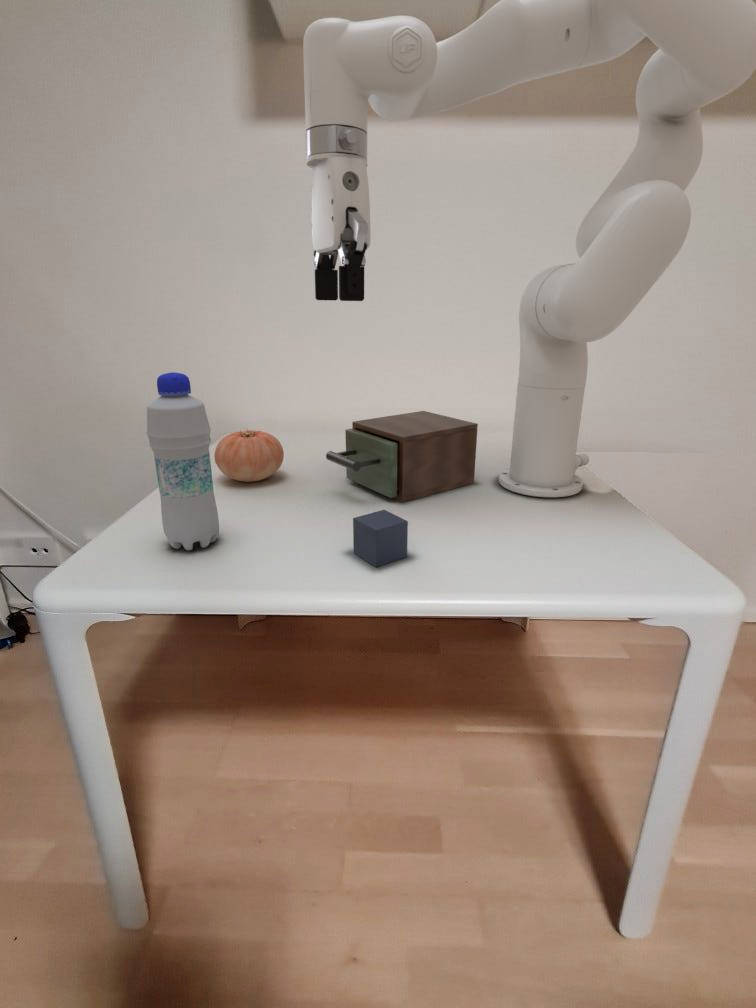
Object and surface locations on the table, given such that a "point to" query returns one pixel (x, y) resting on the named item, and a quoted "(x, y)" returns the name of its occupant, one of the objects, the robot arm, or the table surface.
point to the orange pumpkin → (249, 455)
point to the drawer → (370, 461)
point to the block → (380, 537)
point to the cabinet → (428, 451)
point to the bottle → (182, 463)
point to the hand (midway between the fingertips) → (338, 300)
